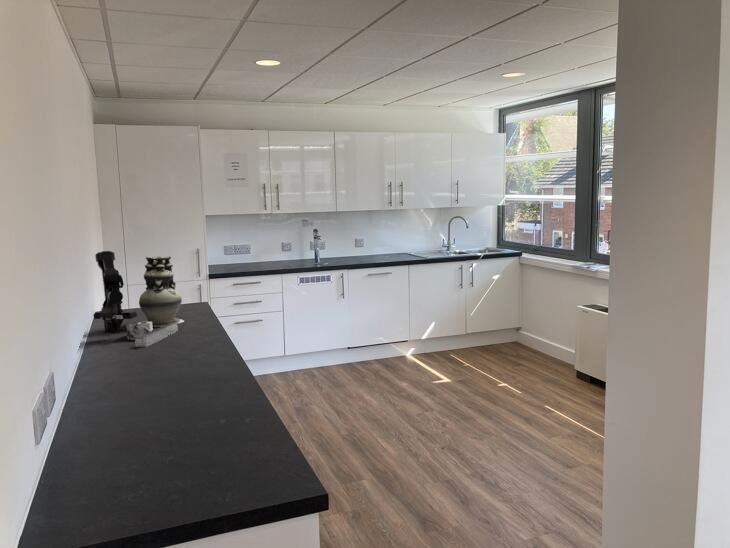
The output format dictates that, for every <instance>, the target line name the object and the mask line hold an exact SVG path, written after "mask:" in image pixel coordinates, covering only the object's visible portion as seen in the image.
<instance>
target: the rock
mask: <svg viewBox="0 0 730 548" xmlns="http://www.w3.org/2000/svg"><path fill="white" fill-rule="evenodd" d="M125 329H126V336H127V340H128V341H135V339H143V337H142V335H144V334H146V333H149V332H150V330H149V329H148V328H146V327H144V326H141V325H138V324H137V322H135V323H128V324H126V325H125Z"/></svg>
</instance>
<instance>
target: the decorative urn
mask: <svg viewBox="0 0 730 548" xmlns="http://www.w3.org/2000/svg"><path fill="white" fill-rule="evenodd" d="M171 259H172V256H171V255H167V256H164V257H162V256H161V255H160V256H159V255H157V256H151V257H149V256H145V260H146V261H147V263H146V264H145V265H144V268H145V269H146V270H145V272H144V274H143V279H144V281H145V285H146V287H145V290H144V292H142V293H141V294H140V297H139V300H138V304H139V308H140V310H141V311H142V313H143V314H144V316H145V317H146V319H147V321H148V322H152V326H153V327H155V328H156V327H162V326H164V325H166V324H168V323H171V322H173V321H178V323H177V324H182V323H184V322H185V320H184V319H181V318H176V315H177V313H178V311H179V309H180V308H181V305H182V302H183V301H182V300H183V298H182V296H181V294H180V293H179V292H178V291H176V284H177V283H176V281H175V280H174V273H173V269H172V268H173V266H174V264H173V263H171V261H170V260H171Z"/></svg>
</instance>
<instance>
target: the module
mask: <svg viewBox="0 0 730 548" xmlns="http://www.w3.org/2000/svg"><path fill="white" fill-rule="evenodd" d="M136 324H138V325H141V326H144V327H146V328H148V329H149V330H150V331H152V330H154V328H153V327H154V326H152V322H148V320H142V321H139V322H136Z"/></svg>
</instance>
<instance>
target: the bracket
mask: <svg viewBox="0 0 730 548" xmlns="http://www.w3.org/2000/svg"><path fill="white" fill-rule="evenodd" d="M178 324H179V323H178V321H173V322H171V323H168V324H166V325H164V326H159V327H158V328H155V329H153V331H151V332H149V333H146V334H144V335H142V337H143V339H135V340H134V341H135V342H134V343H135V347H136V348H137V347H139V348H141V347H142V348H143V347H144V348H146V347H149V346H151V345H154V344H155V343H158V342H159V341H161V340H164V339H165V338H167V337H169V336H171V335H173V334H175V333H177V332H178V331H179V330H178V328H179V327H178ZM176 331H177V332H176ZM170 334H171V335H170ZM168 335H169V336H168Z"/></svg>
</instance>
